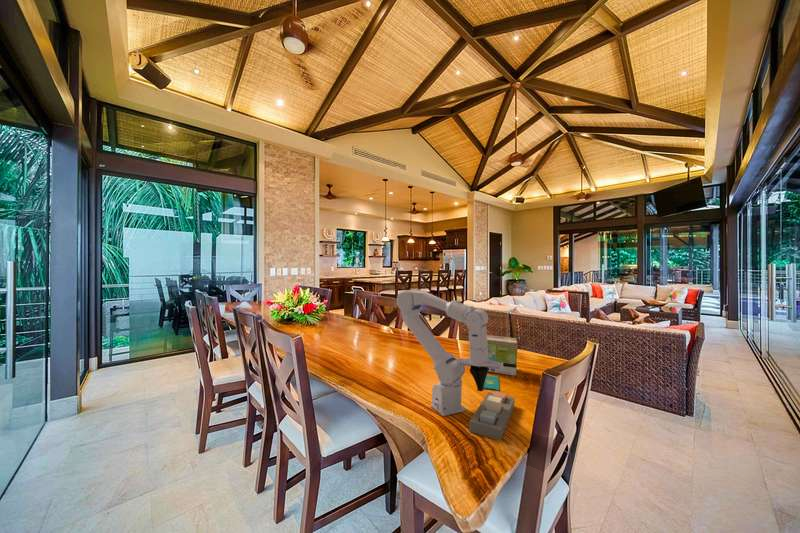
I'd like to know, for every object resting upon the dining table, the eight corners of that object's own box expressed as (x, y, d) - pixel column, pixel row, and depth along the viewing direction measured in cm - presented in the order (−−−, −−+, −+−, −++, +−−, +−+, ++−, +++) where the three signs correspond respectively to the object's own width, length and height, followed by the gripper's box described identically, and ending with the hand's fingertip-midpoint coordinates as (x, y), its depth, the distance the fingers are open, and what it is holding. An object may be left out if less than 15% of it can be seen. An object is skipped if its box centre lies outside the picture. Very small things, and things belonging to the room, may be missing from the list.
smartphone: (498, 376, 137) (500, 389, 123) (498, 378, 137) (500, 392, 123) (481, 374, 139) (480, 387, 125) (481, 376, 139) (480, 389, 125)
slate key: (493, 434, 92) (493, 418, 92) (479, 430, 94) (480, 415, 94) (496, 427, 96) (496, 413, 96) (482, 424, 98) (483, 409, 98)
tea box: (481, 371, 144) (482, 339, 143) (482, 364, 153) (483, 334, 153) (516, 376, 139) (517, 342, 139) (515, 368, 149) (516, 337, 148)
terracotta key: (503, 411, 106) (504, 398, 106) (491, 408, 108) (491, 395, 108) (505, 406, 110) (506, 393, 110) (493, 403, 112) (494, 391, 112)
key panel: (500, 440, 89) (501, 430, 89) (469, 431, 94) (469, 421, 94) (514, 406, 111) (514, 397, 111) (488, 400, 115) (488, 391, 115)
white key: (499, 416, 99) (499, 402, 99) (486, 413, 101) (486, 399, 101) (501, 411, 103) (502, 398, 103) (488, 408, 105) (489, 395, 105)
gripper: (504, 346, 102) (506, 388, 102) (460, 343, 110) (462, 383, 109) (499, 351, 96) (502, 396, 96) (453, 347, 103) (455, 390, 103)
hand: (480, 390), depth 102 cm, fingers closed
